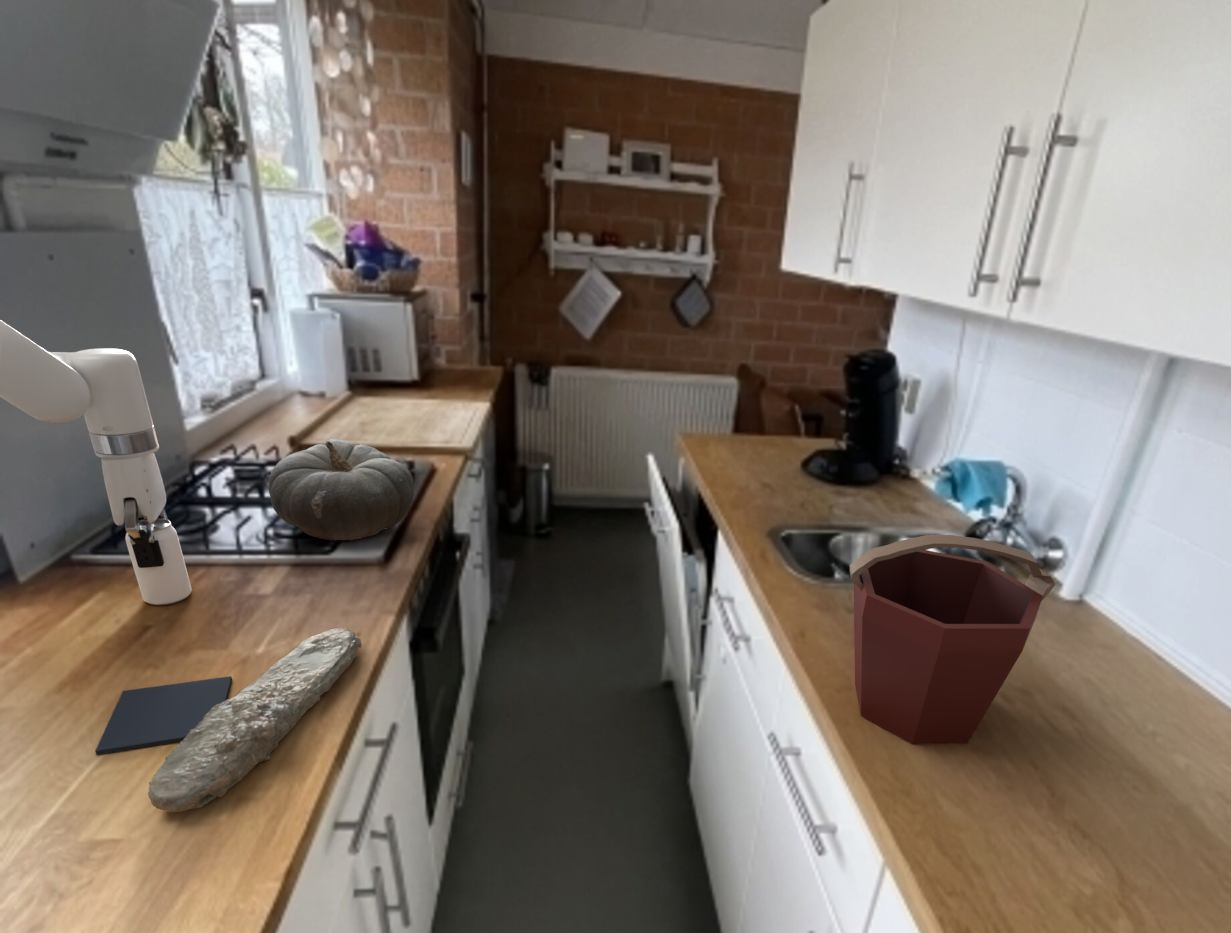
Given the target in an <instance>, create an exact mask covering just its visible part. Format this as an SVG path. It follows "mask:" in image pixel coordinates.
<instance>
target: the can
mask: <svg viewBox="0 0 1231 933" xmlns="http://www.w3.org/2000/svg"><path fill="white" fill-rule="evenodd" d="M146 520H147V519H144V518H143V519H140V520H139V521H146ZM139 527H140V529H141V530H142V529H144V530H145V531H146V533H147V527H146V526H139ZM153 529H154V536H155V540H158V542H159V545H160V549H161V553H162V556H163V560H164V564H163V566H159V567H148V568H139V567H138V565H137V561H136V558H135V554H134V551H133V548H132V544H131V542H130V537H129V536H128V535H129V534H128V533H127V532H126V533H125V537H124V538H125V539H124V540H125V543H126V547H127V550H128V555H129V558H130V561H131V565H132V567H133V571H134V574H135V578H136V582H137V584H138V587H139V591H140V594H141V598H142V600H143V601H144V602H145V603H147V604H149V605H151V606H167V605H172V604H177V603H179V602H182V601H184V600H186V599H188V597H190V595H191V593H192V592H193V591H192V590H193V589H192V585H191V581H190V577H189V574H188V570H187V566H186V561H185V558H184V555H183V550H182V547H181V543H180V540H179V536H178V535H179V534H178V532H177V530H176V529H175V528H174V526H172V522H171V520H169V519H168V518H167V519H162V518H157V519H156V520H155V521H154V522H153Z"/></svg>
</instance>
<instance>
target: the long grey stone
mask: <svg viewBox="0 0 1231 933" xmlns="http://www.w3.org/2000/svg"><path fill="white" fill-rule="evenodd" d="M359 648H363V644H362V640H361V638H359V637H356V632H354V631H352V630H350V629H349V628H348V627H343V628H339V627H336V628H330V629H328V630H326V631H323V632H320V633H317V634H314V635H312V636H309V637H307V638H306V639H304V640H302V641H301V642H300V643H298V645H297V646H296V647H295V648H294V649H293V650H291V651H289V653H287V654H285V656H282V657H281V658H280V659H278V660H277V661H276V662H274V663H273V664H272V665H270V666H269V667H268V668H267V669H266V670H265V672H263V673H262V674H261V675H260V676H259V677H257V678H256V679H254V680H253V681H252V682H250V683H249V684H247V686H245V687H243V688H241V689H240V690H238V692H236V694H235V695H234V696H233V697H231V698H228V699H227V700H225V701H223V702H222V703H220V704H217V705H216V706H214V707H212V708H211V710H210V711H209V712H208V713H207V714H206V715H205V716H204V717H203V720H202V721H201V722H199V724H198V725H197V726H196V727H195V728H194V729H191V730H190V732H189V734H187V736H186V737H185V738H184V739H183V740H182V741H181V742H179V744H178V745H177V746H176V747H175V749H174V750H173V749H172V751H171V752H170V753H168V755H166V756H165V761H164V762H163V763H162V765H161V766H160V767H159V768H158V769H157V771H156V772H155V774H154V776H153V777H152V778H151V780H150V781H149V783H148V784H149V786H148V793H147V796H148V798H149V801H150V802H151V805H152V806H153V807H155V808H156V809H157V810H161V811H164V812H168V813H176V812H185V811H188V810H192V809H200V808H203V806H204V805H207V804H209V802H211V801H213V800H214V799H215V798H217V797H218V798H221V797H223V796H224V795H226V793H227V791H228V790H230V789H231V788H232V787H233V786H235V785H236V784H237V783H239V782H241V781H242V780H243V779H244V778H245V777H246V776H247V775H248V773H249V772H250V771H252V770H253V769H254V767H255V766H256V765H258V763H262V762H266V761H269V760H271V752H273V751H274V750H275V749H277V748H278V746H279V745H278V744H279V742H280V741H281V740H282V739H283V738H285V736H287V734H288V733H290V732H291V730H292V729H294V728H295V726H297V724H298V723H299V720H301V718H302V716H303V715H305V713H306V712H307V711H308V710H309V709H311V708H312V707H313V706H314V705H316V703H318V702H319V701H321V696H322V695H323V694H324V693H327V692H329V691H330V690H331V688H332V686H333V685H334V684H335V683H336V681H337V680H339V678H340V676H341V675H342V674H343V673H344V672H346V670H347V669H348V668H349V667H350V666H351V665H352V663H353V662H354V661H353V660H354V659H357V653H358V651H359V650H358V649H359Z"/></svg>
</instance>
